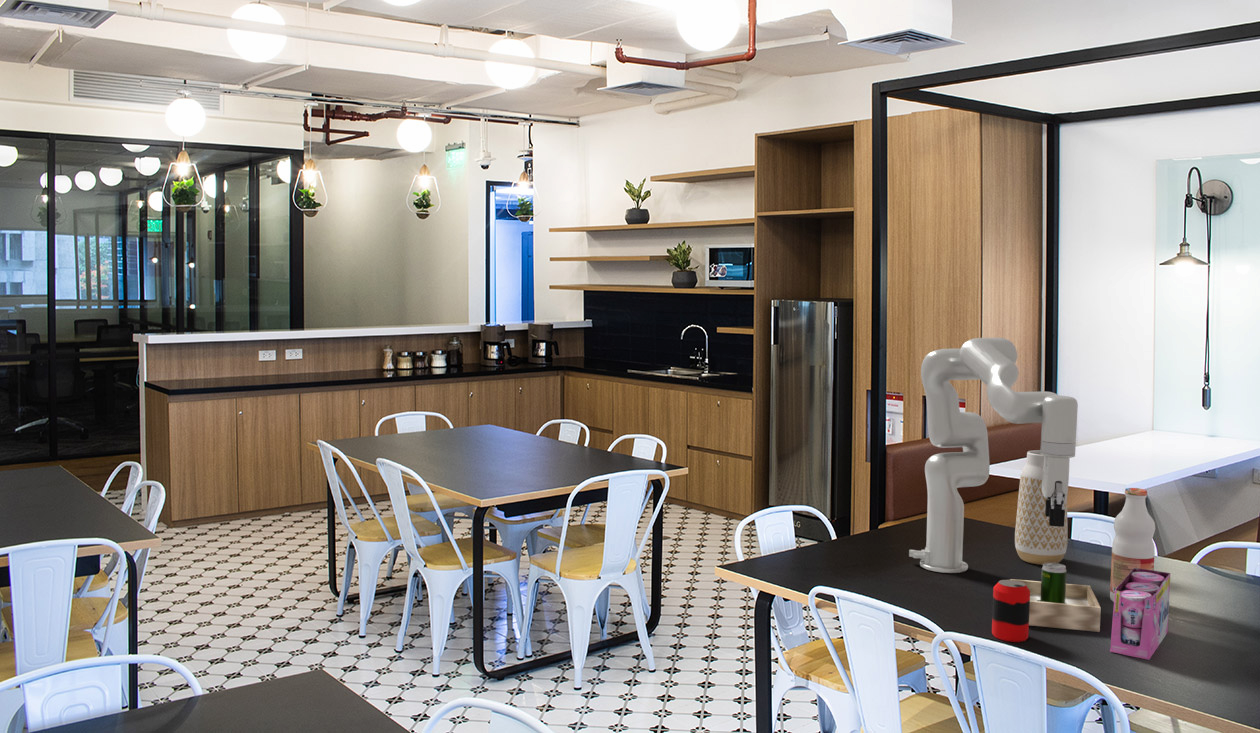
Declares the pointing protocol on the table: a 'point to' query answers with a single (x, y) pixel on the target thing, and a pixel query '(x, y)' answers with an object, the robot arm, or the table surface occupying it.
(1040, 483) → the vase
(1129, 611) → the gum box
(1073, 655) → the table surface
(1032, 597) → the crate
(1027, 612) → the soda can
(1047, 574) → the beer can
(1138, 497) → the fruit juice
